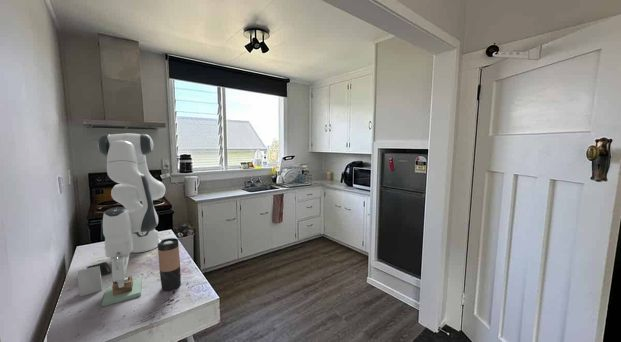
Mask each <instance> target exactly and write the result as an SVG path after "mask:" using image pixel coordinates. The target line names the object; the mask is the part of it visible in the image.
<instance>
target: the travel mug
mask: <svg viewBox="0 0 621 342" xmlns="http://www.w3.org/2000/svg"><path fill="white" fill-rule="evenodd" d="M157 251H158V252H157V253H158V266H159V267H158V268H159V277H160V278H159V279H160V284H161V290H162V292H171V291H175V290H177V289H179V288H180V287H181V284H182V283H181V281H182V280H181V279H182V277H181V274H182V273H181V259H180V258H181V257H180V247H179V239H178V238H174V237H173V238H172V237H171V238H170V237H169V238H166V239H165V238H164V239H162V240H161V242H160V243H158V247H157Z"/></svg>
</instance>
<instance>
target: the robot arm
mask: <svg viewBox="0 0 621 342" xmlns="http://www.w3.org/2000/svg"><path fill="white" fill-rule="evenodd" d="M97 148H98V150H99V152H100V153H101V154H102V155H104V156H107V158H106V173H107V174H106V175H107V176H108V177H109V178H110V180H111V181H113V182H115V183H117V184H115V185H114V186H113V187H112V188H111V193H110V196H111V198H112V199H113V200H114V201H115V202H117V203H119V204H121V205H122V206H115V207H112V208H109V209H107V210H105V211H104V212H103V216H102V234H103V236H104V243H103V244H104V251H105V257H106V258H109V259H110V260H111V276H112V282H113V281H114V282H117V283H118V287H119V288H121V287H124V279H125V277H126V276H127V271H128V270H127V269H128V263H129V260H130V255H131V253H143V252H144V253H145V252H147V251H148V252H149V251H151V250H152V251H153V250H154V249H156V248H158V243H160V242H161V241H162V240H161V238H160V236H159V231H158V230H156V227H157V226H158V224H159V215H158V214H157V211H156V207H155V204H154V201H153V200H157V199H162V198H163V197H164V196H165V194H166V190H167V189H166V186H165V184H164V183H163V182H162V181H160V180H158V179H156V178H155V177H153V176H152V174H151V173H150V170H149V168H148V162H147V157H146V155H149V154H151V153H152V152H153V150H154V141H153V139H152V137H151V136H150V135H149V134H146V133H141V134H139V133H131V132H130V133H129V132H126V133H113V134H111V133H109V134H108V133H107V134H103V135H101V136H100V137H99V138H98V141H97ZM140 202H141V203H140Z"/></svg>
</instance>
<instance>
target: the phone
mask: <svg viewBox="0 0 621 342" xmlns="http://www.w3.org/2000/svg"><path fill="white" fill-rule="evenodd" d="M97 266H100V271H101V278H102V277H105V276H108V275H111V274H112V269H111V268H110V266H109V263H108V262H107V261H103V262H100V263H97V264H92V265H89V266H86V269H88V268H92V267H97Z"/></svg>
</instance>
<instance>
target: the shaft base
mask: <svg viewBox="0 0 621 342" xmlns="http://www.w3.org/2000/svg"><path fill="white" fill-rule="evenodd" d="M125 281H128V277H127V278H125V279H124V282H125ZM142 281H143V280H142V278H140V279H139V278H138V279H134V280H133V287H132V291H130V292H126V293H122V294H119V295H115V296H113V289H112V285H111V286H108V287H106V288H105V292H104V295H103V299H102V302H101V305H102V307H106V306H109V305H113V304H117V303H120V302H123V301H127V300H132V299H134V298H139V297H141V296H142V287H143V286H142V284H143V282H142Z"/></svg>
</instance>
